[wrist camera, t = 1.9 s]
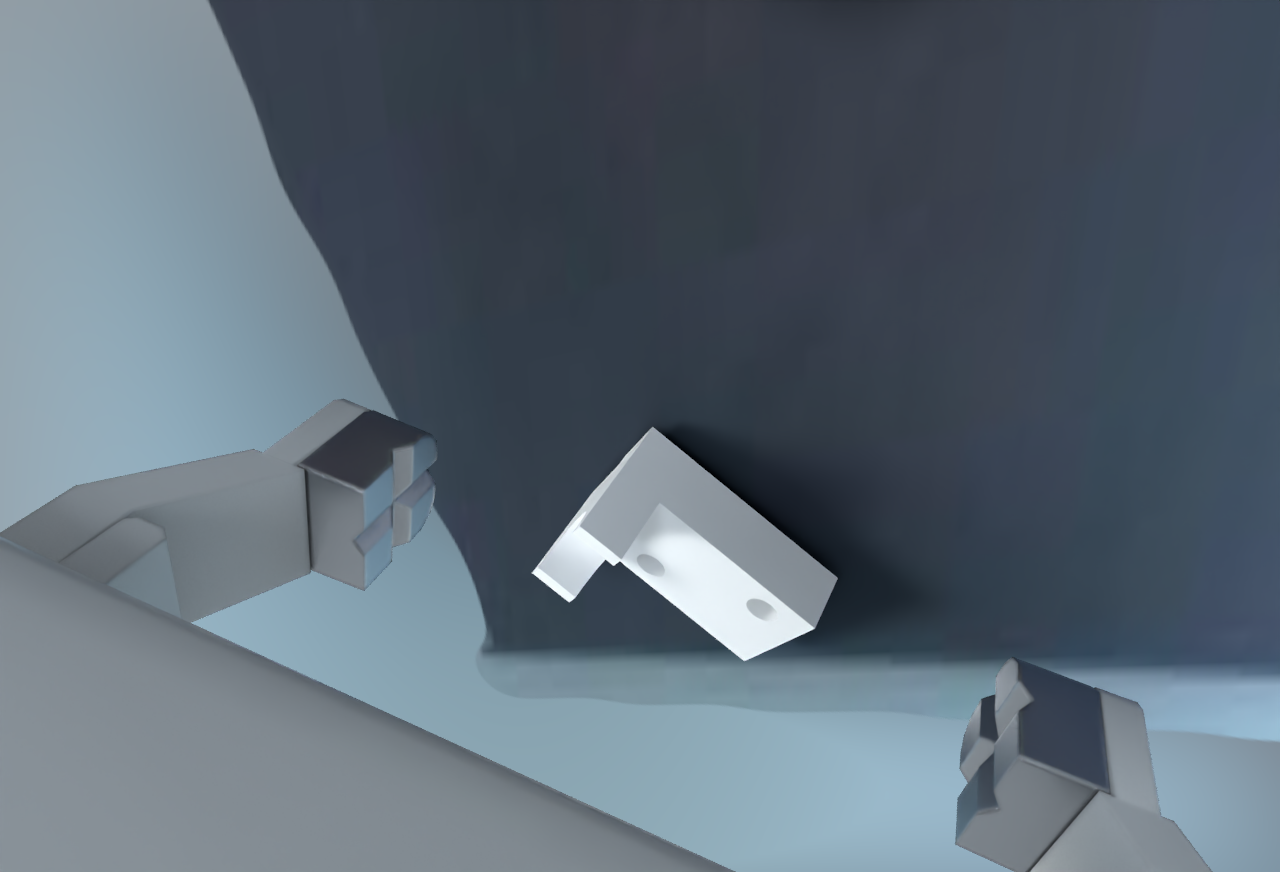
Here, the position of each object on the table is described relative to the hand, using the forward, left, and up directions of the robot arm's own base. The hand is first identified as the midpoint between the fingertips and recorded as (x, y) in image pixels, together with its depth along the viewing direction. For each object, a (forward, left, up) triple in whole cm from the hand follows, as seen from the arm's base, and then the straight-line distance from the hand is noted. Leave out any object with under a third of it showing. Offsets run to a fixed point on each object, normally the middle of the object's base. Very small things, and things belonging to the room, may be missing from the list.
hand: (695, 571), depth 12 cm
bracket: (+10, +23, -30) cm, 39 cm away
